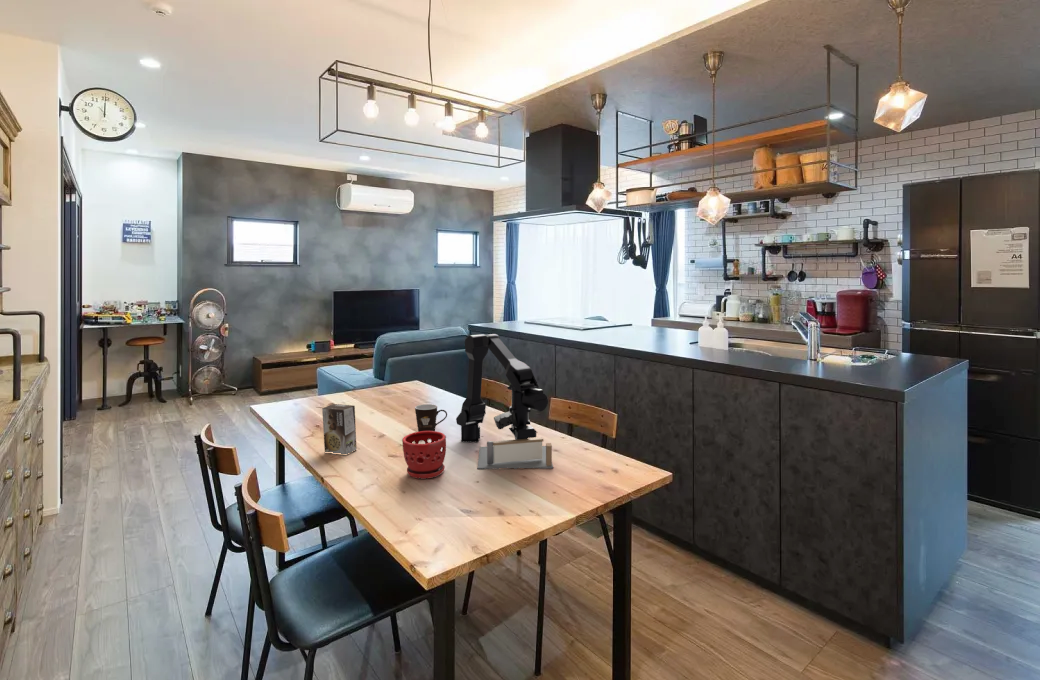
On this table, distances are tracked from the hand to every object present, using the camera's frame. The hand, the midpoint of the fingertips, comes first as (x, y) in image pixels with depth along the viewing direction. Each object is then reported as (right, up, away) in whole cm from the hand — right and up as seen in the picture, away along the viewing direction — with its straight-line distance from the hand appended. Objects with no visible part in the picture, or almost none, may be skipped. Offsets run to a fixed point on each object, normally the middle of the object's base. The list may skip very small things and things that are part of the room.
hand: (519, 450), depth 183 cm
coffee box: (-62, -2, +8) cm, 62 cm away
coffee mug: (-35, +1, +31) cm, 47 cm away
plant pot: (-29, -5, -12) cm, 32 cm away
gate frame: (-2, -3, +3) cm, 4 cm away
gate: (-1, -3, -4) cm, 5 cm away
